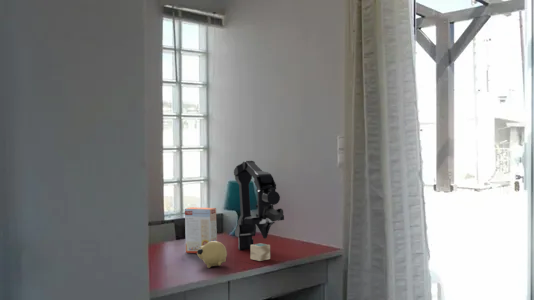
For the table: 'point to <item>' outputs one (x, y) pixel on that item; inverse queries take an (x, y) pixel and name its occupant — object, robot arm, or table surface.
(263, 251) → the birch cube
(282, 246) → the table surface
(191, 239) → the cracker box
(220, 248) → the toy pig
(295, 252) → the table surface
